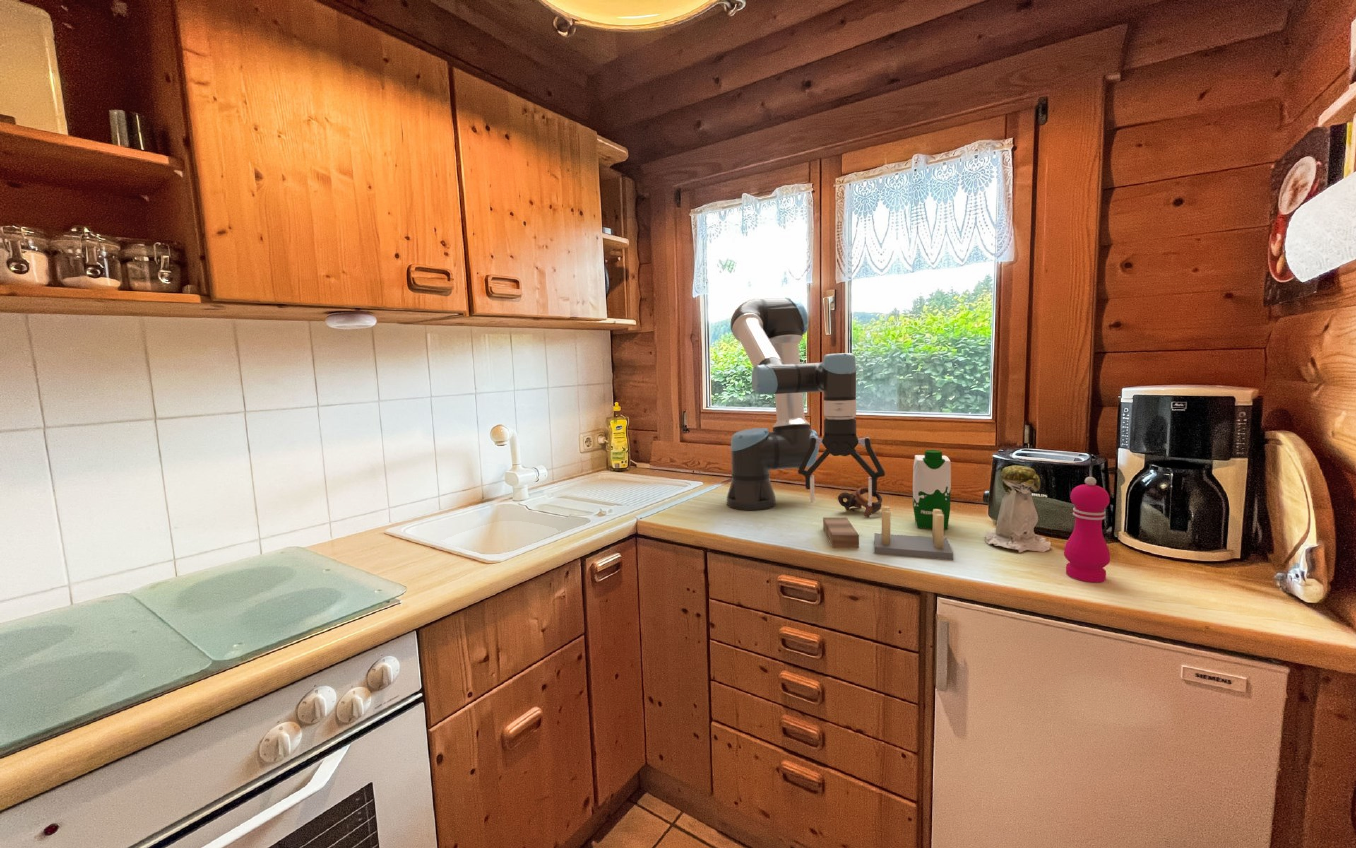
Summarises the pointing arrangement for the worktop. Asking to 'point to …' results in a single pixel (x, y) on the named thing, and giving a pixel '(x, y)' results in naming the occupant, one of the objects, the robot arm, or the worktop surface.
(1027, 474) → the mushroom sculpture
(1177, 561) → the worktop surface
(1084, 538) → the pepper mill
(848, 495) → the twisted brown knot
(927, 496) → the milk carton
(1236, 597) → the worktop surface
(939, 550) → the peg stand
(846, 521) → the brown rectangular block
